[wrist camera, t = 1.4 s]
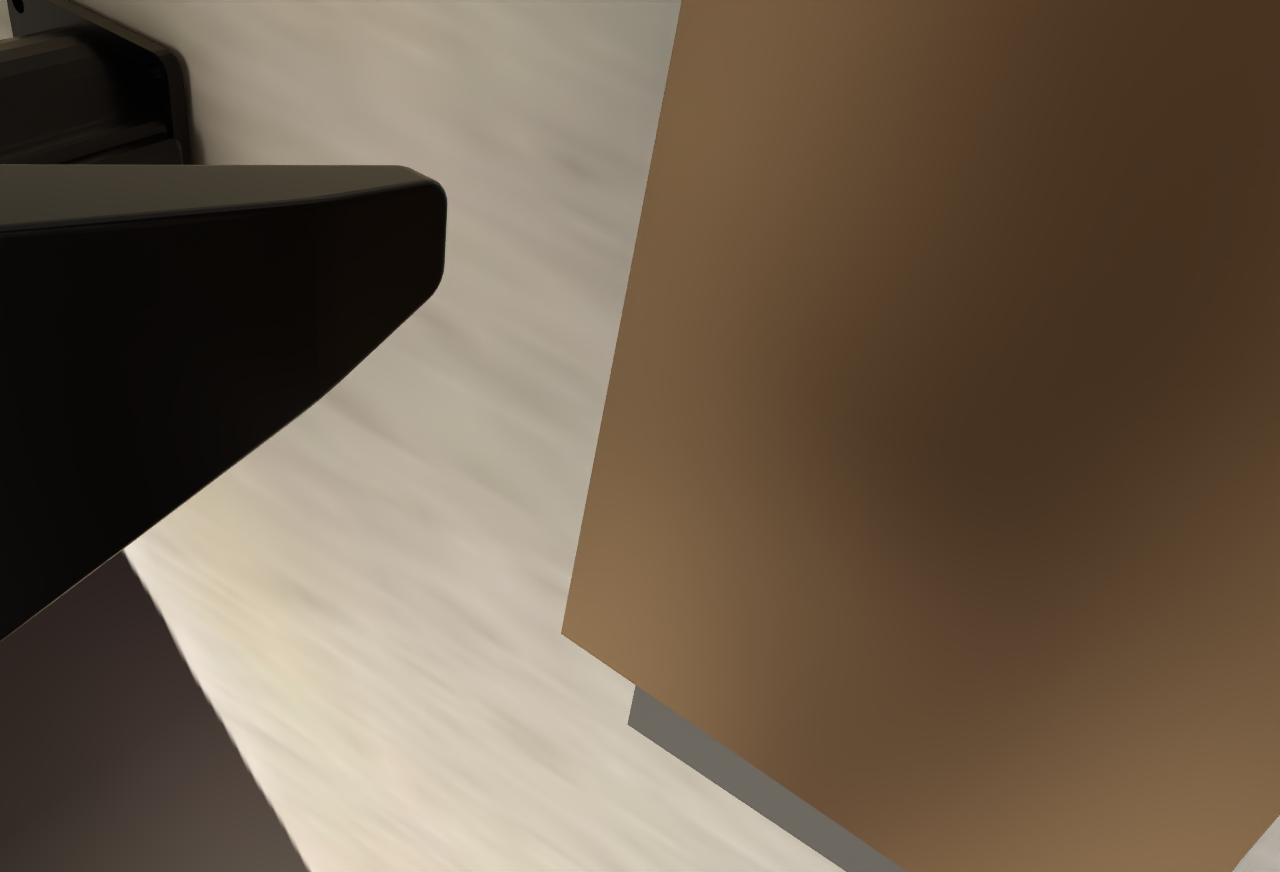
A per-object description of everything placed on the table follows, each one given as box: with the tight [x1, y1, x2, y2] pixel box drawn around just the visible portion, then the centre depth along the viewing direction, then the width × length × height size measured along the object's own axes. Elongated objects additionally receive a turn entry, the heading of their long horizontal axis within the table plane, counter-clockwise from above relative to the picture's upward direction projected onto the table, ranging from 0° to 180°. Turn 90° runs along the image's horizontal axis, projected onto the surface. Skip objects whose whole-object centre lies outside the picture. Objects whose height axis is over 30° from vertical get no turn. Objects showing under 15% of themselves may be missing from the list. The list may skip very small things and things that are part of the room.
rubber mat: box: [628, 685, 1237, 872], centre depth 24 cm, size 12×12×1 cm
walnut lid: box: [561, 0, 1280, 872], centre depth 10 cm, size 6×10×2 cm, turn 169°
